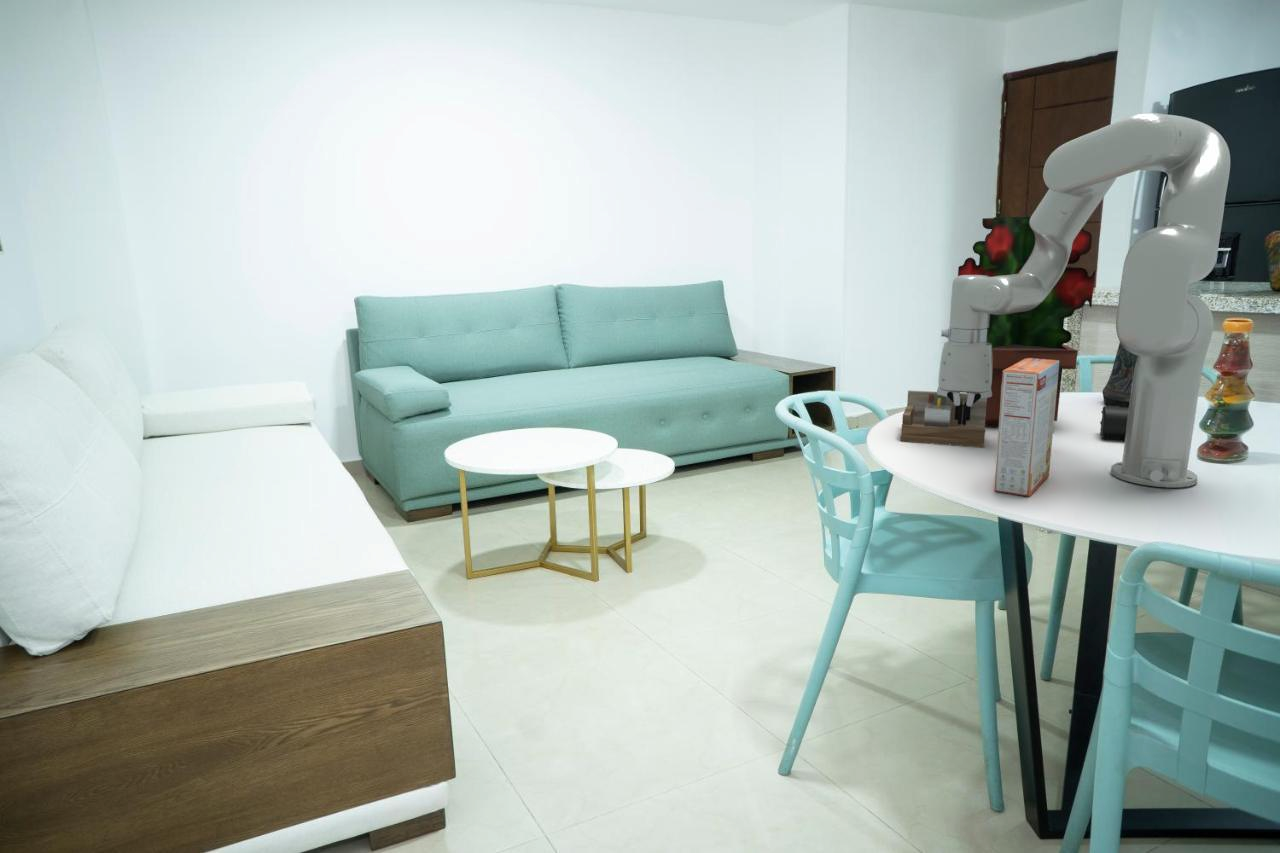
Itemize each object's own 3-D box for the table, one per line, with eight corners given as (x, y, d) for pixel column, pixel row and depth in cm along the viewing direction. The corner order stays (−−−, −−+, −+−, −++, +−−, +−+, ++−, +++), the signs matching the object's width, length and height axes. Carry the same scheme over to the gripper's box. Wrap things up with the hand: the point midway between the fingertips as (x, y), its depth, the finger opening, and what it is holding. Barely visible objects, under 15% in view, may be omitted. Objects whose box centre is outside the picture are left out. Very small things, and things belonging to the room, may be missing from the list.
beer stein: (1160, 399, 196) (1174, 298, 190) (1203, 417, 178) (1219, 306, 172) (1090, 399, 199) (1101, 299, 193) (1124, 416, 180) (1138, 307, 174)
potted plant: (1077, 434, 166) (1101, 214, 155) (966, 431, 170) (982, 217, 160) (1046, 411, 187) (1066, 216, 176) (948, 409, 191) (961, 219, 181)
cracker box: (1013, 471, 142) (1024, 356, 137) (1050, 477, 138) (1062, 359, 133) (990, 491, 131) (1001, 368, 126) (1029, 498, 127) (1041, 371, 122)
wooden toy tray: (983, 447, 157) (987, 406, 155) (900, 441, 164) (902, 402, 162) (984, 431, 170) (987, 393, 168) (906, 426, 176) (908, 389, 174)
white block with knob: (948, 433, 164) (951, 403, 162) (923, 431, 166) (925, 401, 164) (949, 428, 168) (952, 398, 167) (925, 426, 170) (927, 397, 169)
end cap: (1101, 441, 160) (1105, 409, 158) (1097, 433, 166) (1100, 402, 165) (1159, 445, 156) (1163, 412, 154) (1152, 437, 162) (1156, 405, 161)
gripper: (928, 337, 160) (922, 424, 164) (1009, 339, 154) (1001, 430, 158) (930, 333, 167) (925, 417, 171) (1008, 335, 161) (1000, 422, 165)
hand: (961, 423), depth 165 cm, fingers closed
